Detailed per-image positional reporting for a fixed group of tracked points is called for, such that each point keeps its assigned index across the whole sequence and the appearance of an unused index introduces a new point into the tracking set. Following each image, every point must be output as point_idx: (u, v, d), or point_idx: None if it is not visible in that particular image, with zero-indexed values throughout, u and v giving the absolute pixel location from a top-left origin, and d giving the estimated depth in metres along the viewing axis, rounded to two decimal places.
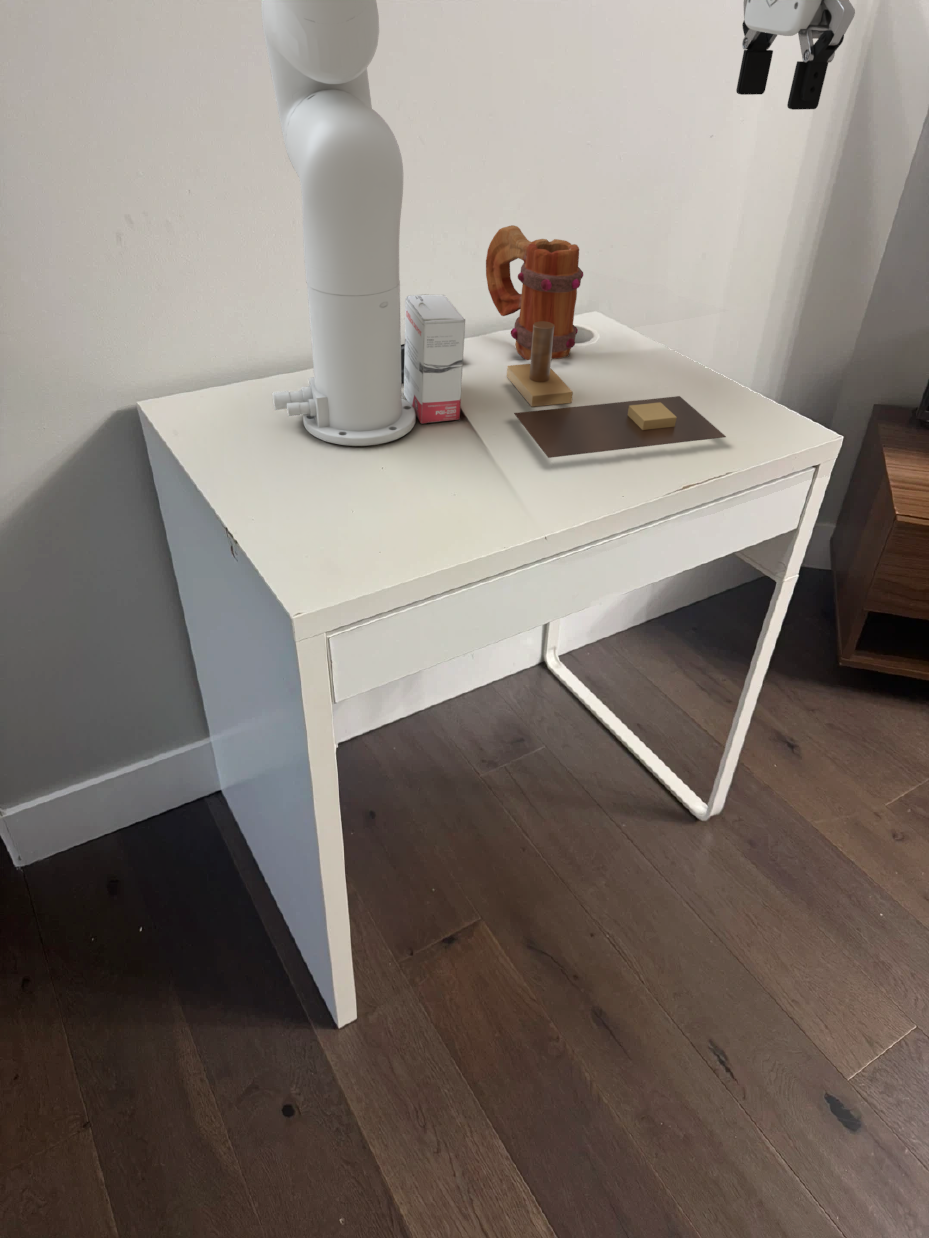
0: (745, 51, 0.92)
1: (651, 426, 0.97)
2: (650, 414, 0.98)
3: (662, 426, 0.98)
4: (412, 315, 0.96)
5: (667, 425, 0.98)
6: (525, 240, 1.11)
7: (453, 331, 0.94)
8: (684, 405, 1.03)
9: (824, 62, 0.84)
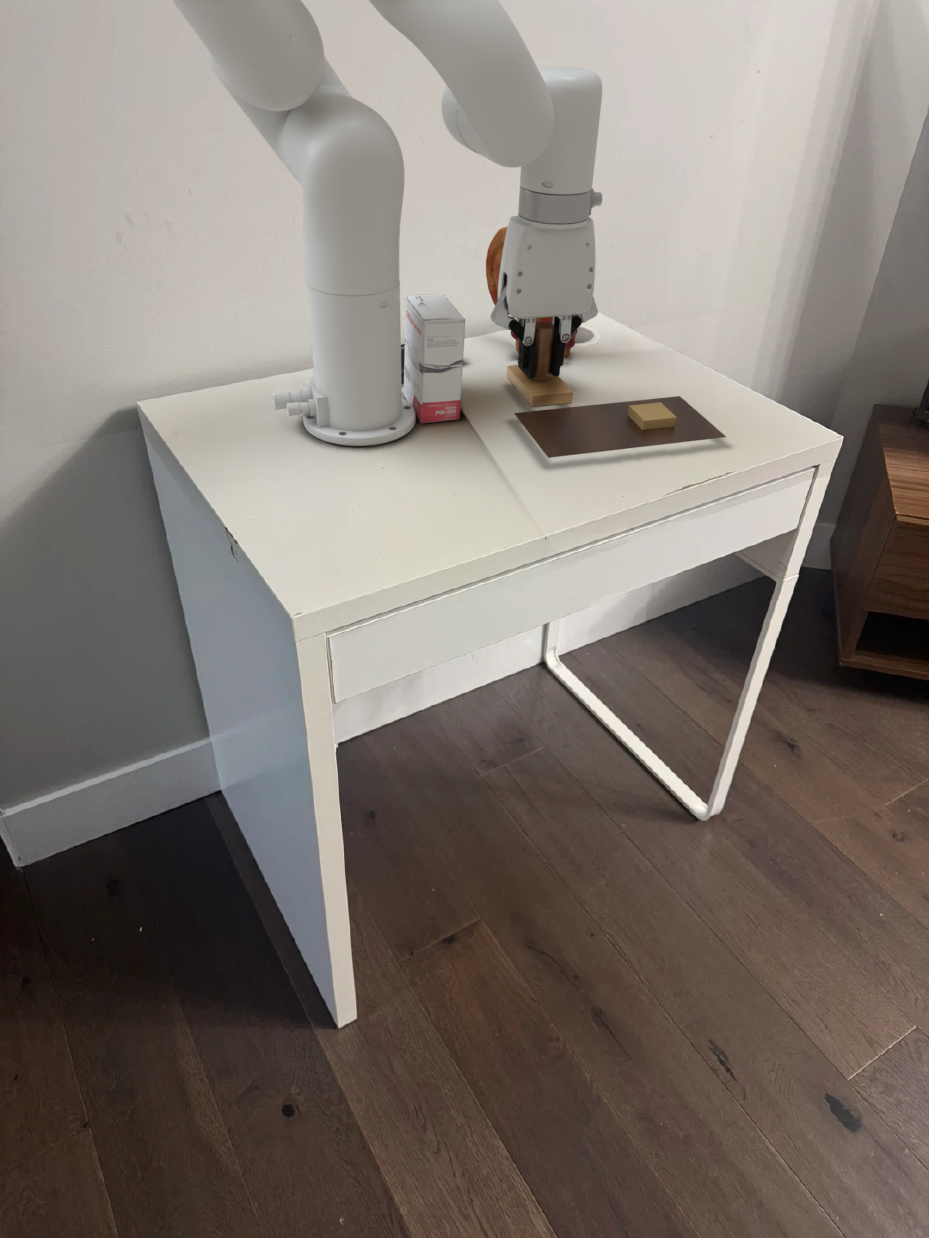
0: None
1: (651, 426, 0.97)
2: (650, 414, 0.98)
3: (662, 426, 0.98)
4: (412, 315, 0.96)
5: (667, 425, 0.98)
6: None
7: (453, 331, 0.94)
8: (684, 405, 1.03)
9: (523, 343, 1.00)
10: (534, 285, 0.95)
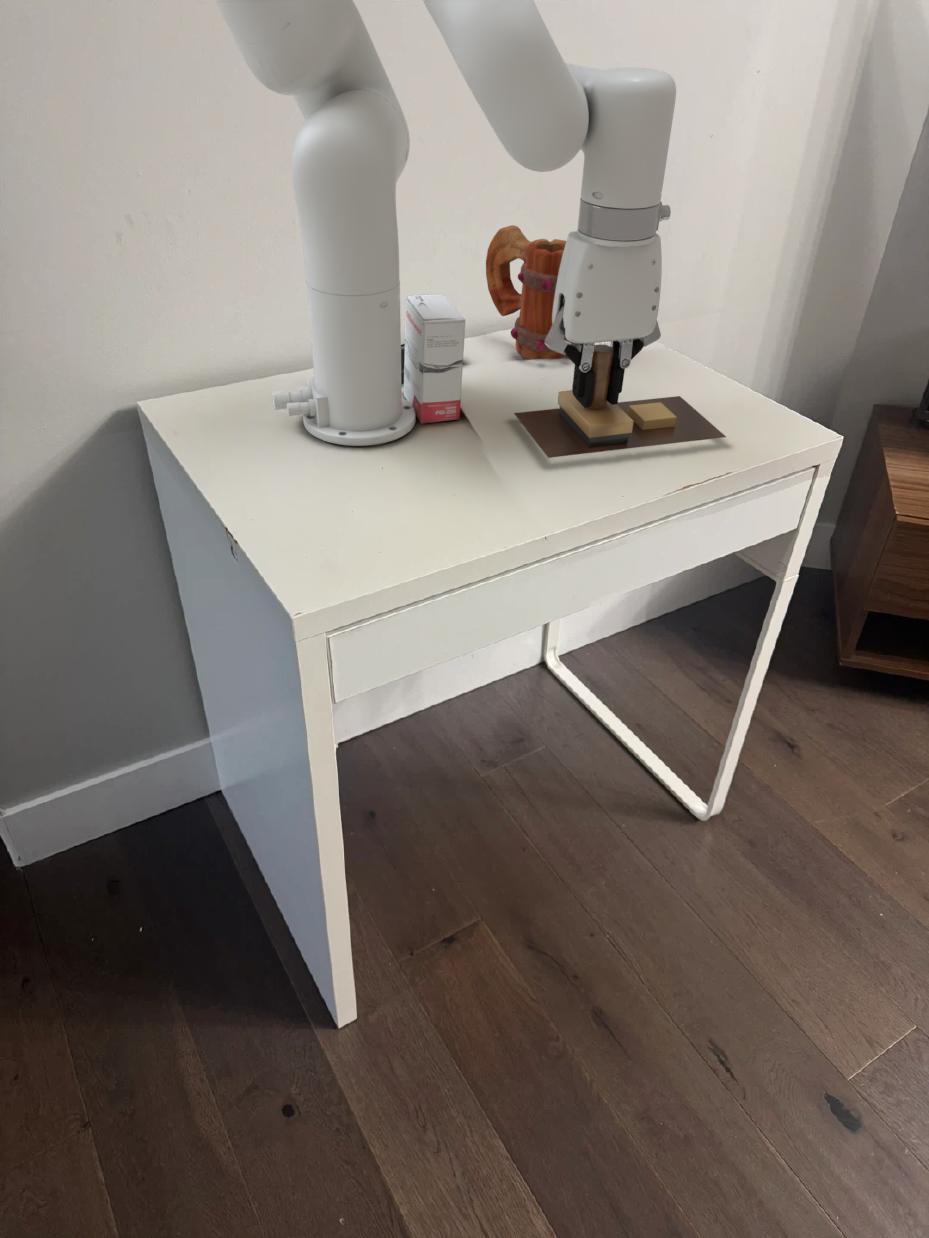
0: None
1: (651, 426, 0.97)
2: (650, 414, 0.98)
3: (662, 426, 0.98)
4: (412, 315, 0.96)
5: (667, 425, 0.98)
6: (525, 240, 1.11)
7: (453, 330, 0.94)
8: (684, 405, 1.03)
9: (579, 369, 0.92)
10: (594, 307, 0.86)
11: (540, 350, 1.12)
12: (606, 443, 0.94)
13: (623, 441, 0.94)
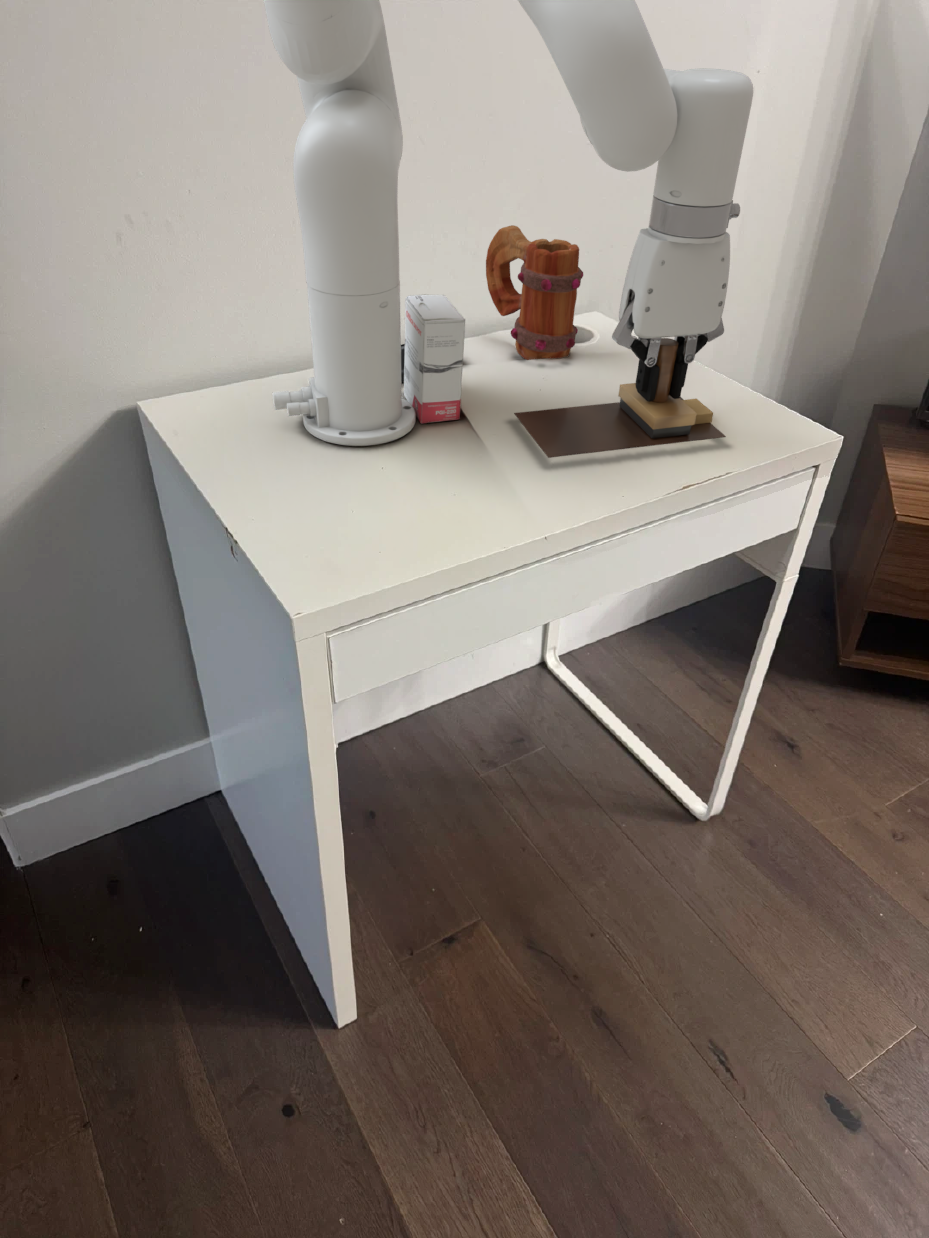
0: None
1: None
2: None
3: (699, 422, 0.99)
4: (412, 315, 0.96)
5: (704, 421, 0.99)
6: (525, 240, 1.11)
7: (453, 331, 0.94)
8: None
9: (644, 364, 0.94)
10: (664, 302, 0.88)
11: (540, 350, 1.12)
12: (669, 435, 0.96)
13: (685, 433, 0.96)
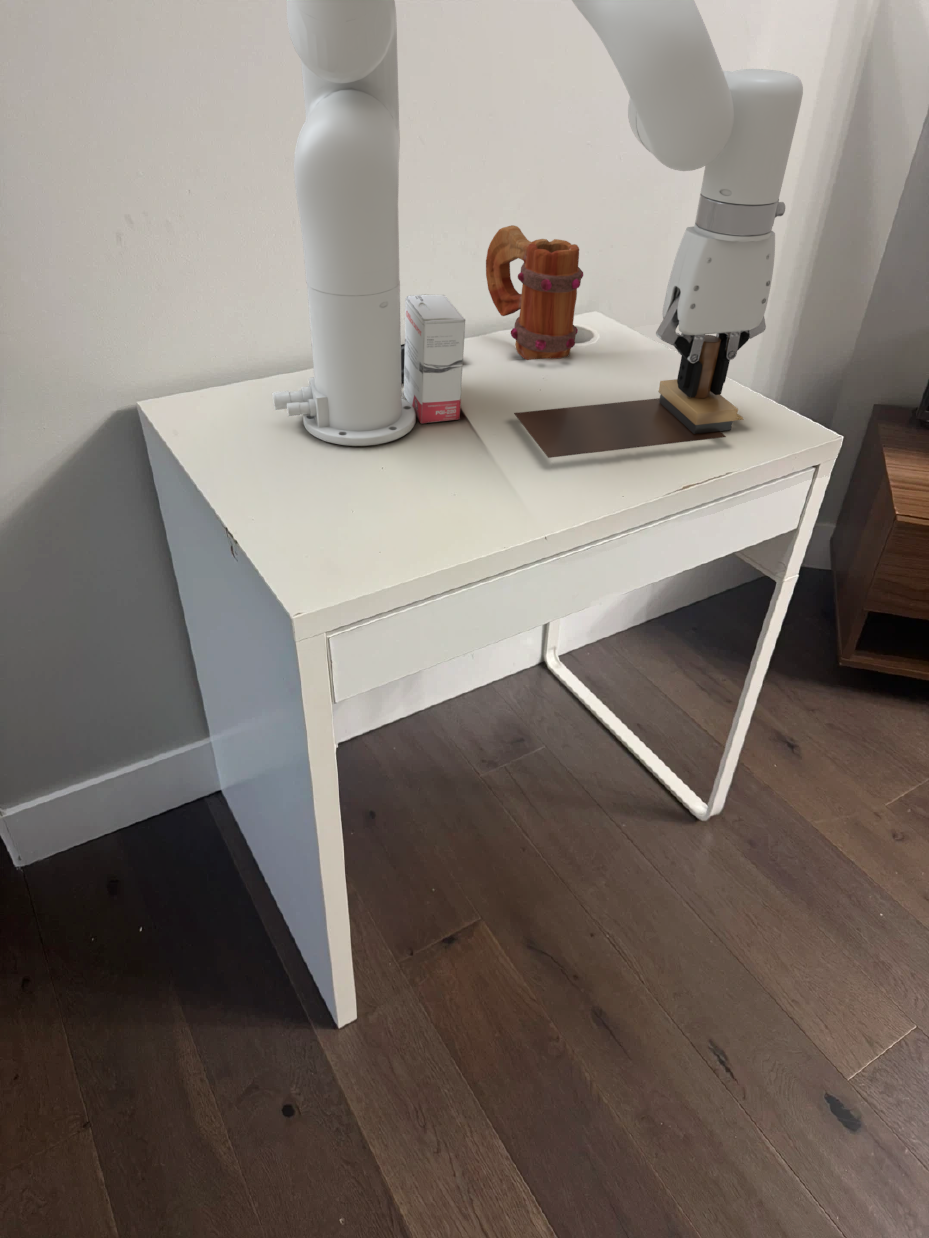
0: None
1: None
2: None
3: None
4: (412, 315, 0.96)
5: None
6: (525, 240, 1.11)
7: (453, 330, 0.94)
8: None
9: (687, 360, 0.95)
10: (709, 300, 0.89)
11: (540, 350, 1.12)
12: (710, 430, 0.97)
13: (726, 428, 0.98)
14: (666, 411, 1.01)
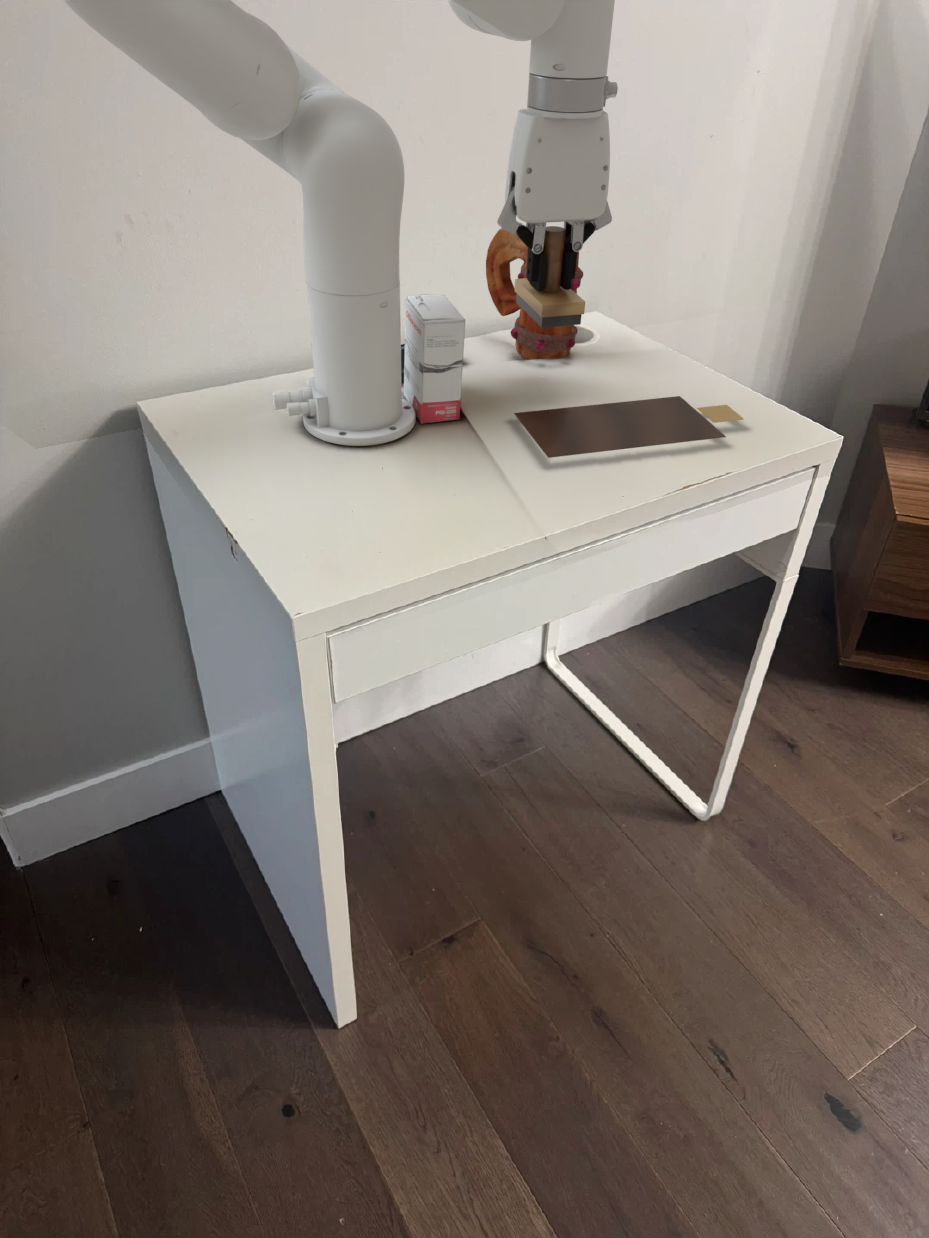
0: None
1: None
2: (718, 416, 1.01)
3: None
4: (412, 315, 0.96)
5: None
6: None
7: (453, 331, 0.94)
8: (684, 405, 1.03)
9: (532, 252, 0.94)
10: (544, 183, 0.88)
11: (540, 350, 1.12)
12: (559, 324, 0.96)
13: (576, 323, 0.97)
14: (666, 411, 1.01)
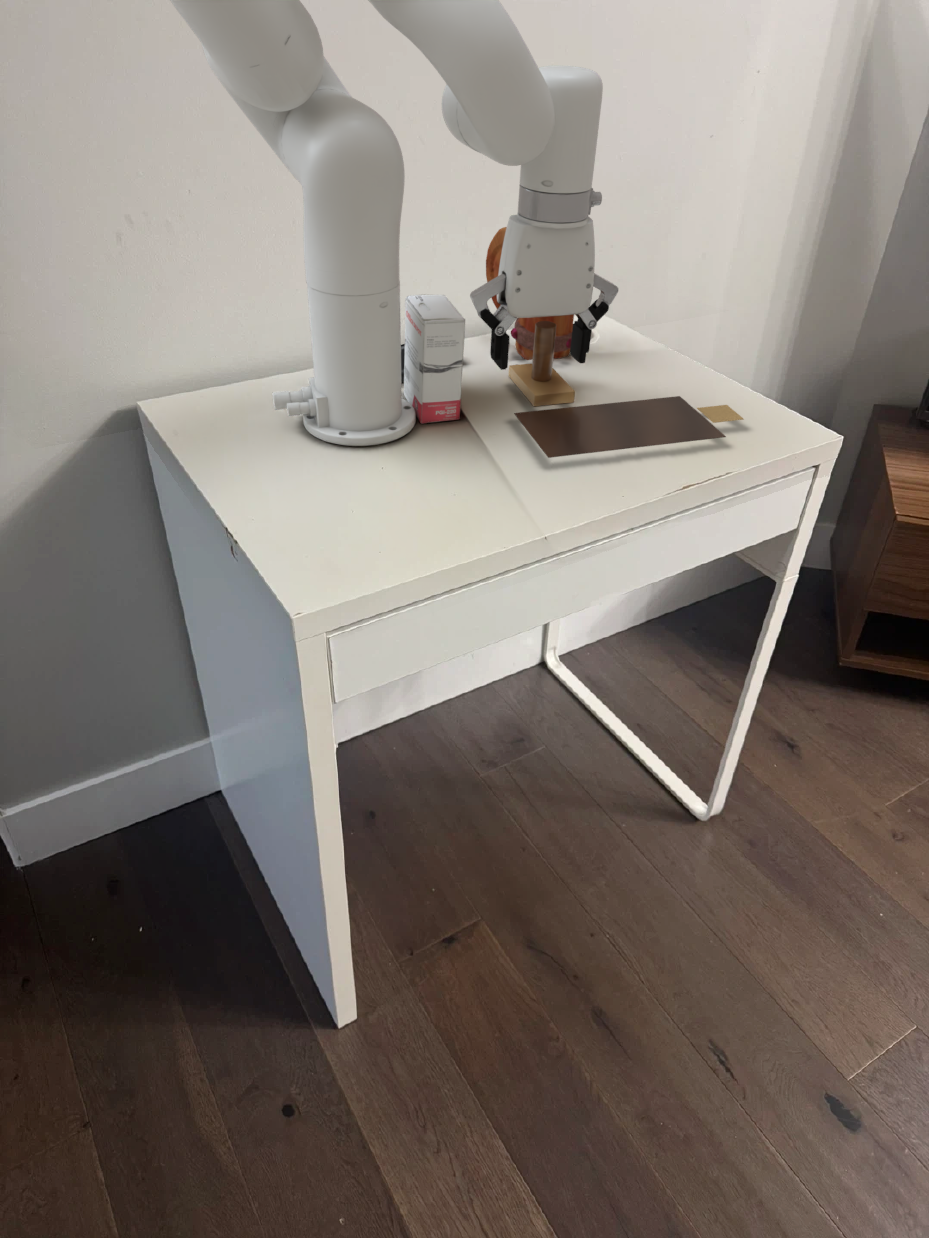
0: (576, 321, 1.03)
1: None
2: (718, 416, 1.01)
3: None
4: (412, 315, 0.96)
5: None
6: None
7: (453, 331, 0.94)
8: (684, 405, 1.03)
9: (495, 333, 0.99)
10: (533, 284, 0.95)
11: None
12: None
13: None
14: (666, 411, 1.01)
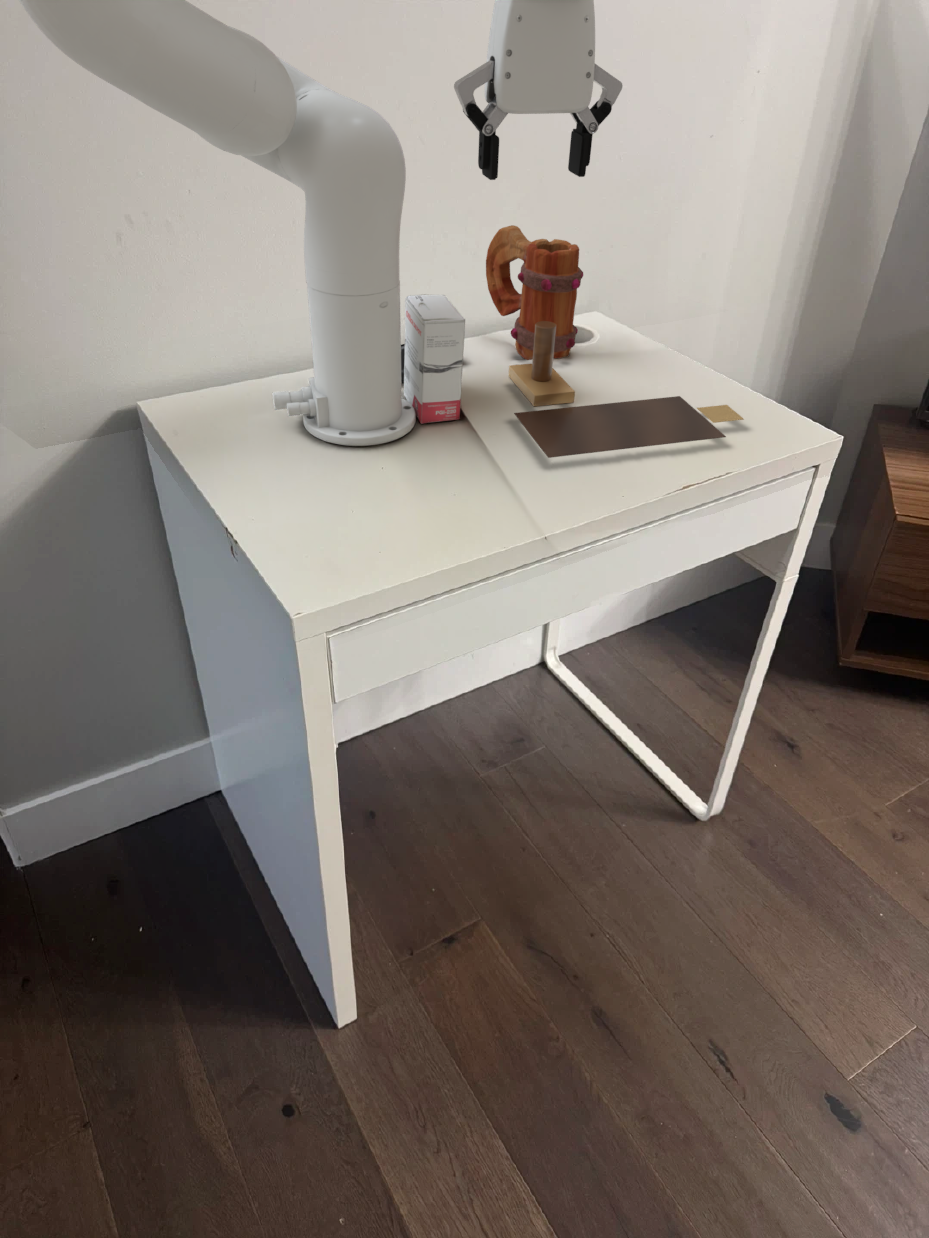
0: None
1: None
2: (718, 416, 1.01)
3: None
4: (412, 315, 0.96)
5: None
6: (525, 240, 1.11)
7: (453, 331, 0.94)
8: (684, 405, 1.03)
9: (483, 134, 0.87)
10: (525, 68, 0.83)
11: None
12: None
13: None
14: (666, 411, 1.01)
